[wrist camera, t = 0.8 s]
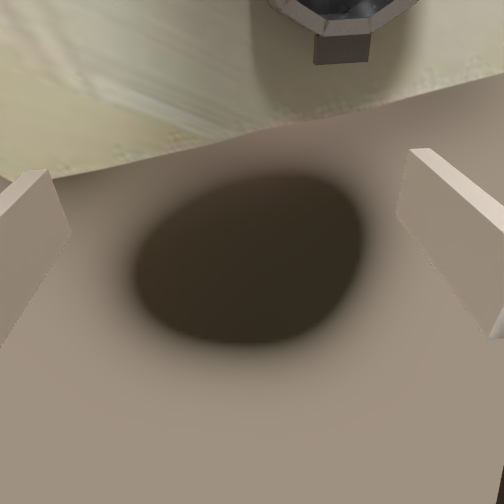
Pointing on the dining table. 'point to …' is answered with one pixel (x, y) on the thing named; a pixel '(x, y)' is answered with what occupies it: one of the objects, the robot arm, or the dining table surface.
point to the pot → (341, 24)
